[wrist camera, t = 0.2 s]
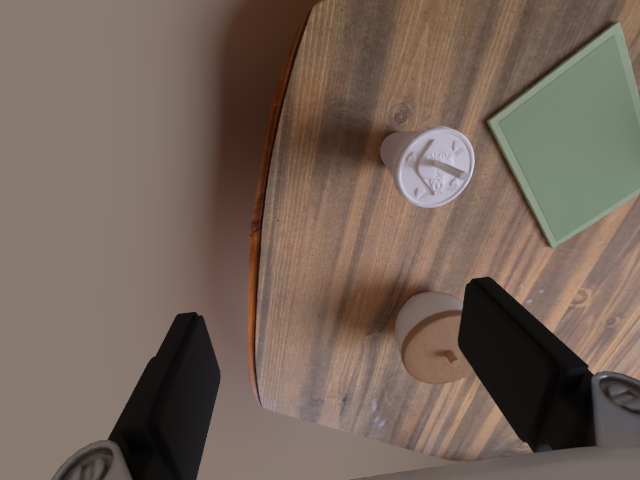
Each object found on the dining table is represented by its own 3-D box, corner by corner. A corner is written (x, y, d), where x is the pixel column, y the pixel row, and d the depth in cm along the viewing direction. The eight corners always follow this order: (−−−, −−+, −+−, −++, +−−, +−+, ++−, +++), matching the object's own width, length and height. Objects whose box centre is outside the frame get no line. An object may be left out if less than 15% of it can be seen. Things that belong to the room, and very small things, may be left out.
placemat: (485, 120, 32) (489, 121, 32) (615, 21, 29) (620, 20, 29) (550, 247, 40) (553, 249, 39) (657, 178, 37) (662, 179, 36)
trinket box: (397, 349, 45) (422, 407, 37) (374, 296, 41) (396, 349, 32) (467, 322, 44) (509, 376, 36) (451, 265, 40) (494, 311, 31)
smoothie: (423, 110, 31) (514, 121, 18) (428, 171, 34) (511, 216, 21) (362, 127, 31) (411, 148, 19) (372, 186, 34) (421, 239, 21)
